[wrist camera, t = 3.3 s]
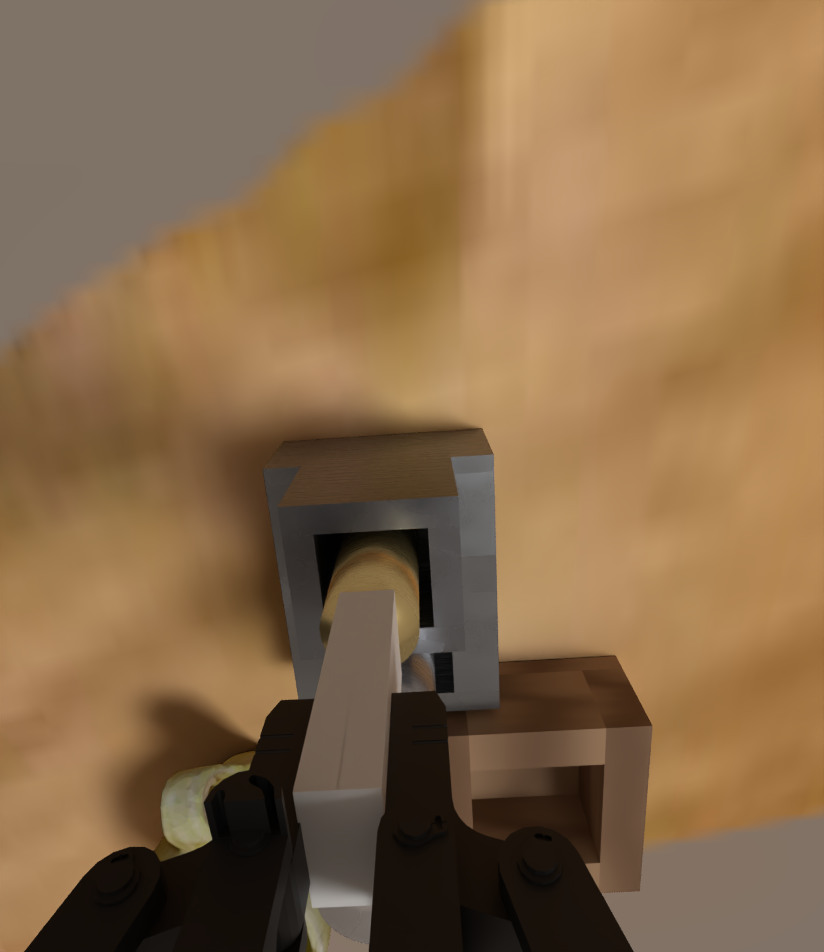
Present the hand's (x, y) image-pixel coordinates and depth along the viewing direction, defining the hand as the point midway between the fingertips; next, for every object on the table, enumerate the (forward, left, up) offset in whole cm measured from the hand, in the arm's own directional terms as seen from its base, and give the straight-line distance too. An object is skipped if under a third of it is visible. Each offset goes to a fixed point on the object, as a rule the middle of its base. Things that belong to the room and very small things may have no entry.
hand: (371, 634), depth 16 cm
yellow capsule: (0, 0, -7) cm, 7 cm away
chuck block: (0, -4, -12) cm, 13 cm away
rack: (+6, -15, -12) cm, 20 cm away
